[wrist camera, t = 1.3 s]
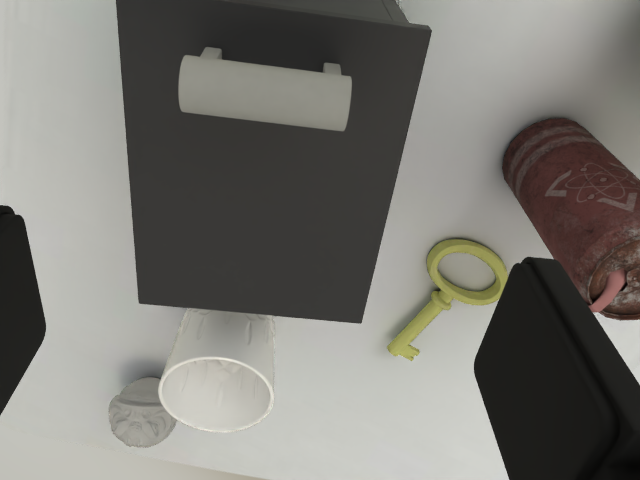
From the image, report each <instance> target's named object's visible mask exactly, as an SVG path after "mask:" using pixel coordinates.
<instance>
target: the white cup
mask: <svg viewBox="0 0 640 480" xmlns="http://www.w3.org/2000/svg"><path fill="white" fill-rule="evenodd" d="M273 319H274V316H272V315H261V314H250V313H239V312H228V311H217V310H205V309H194V308H188V309H187V311H186V312H185V314H184V318H183V320H182V322H181V324H180V327H179V331H178V333H177V335H176V337H175V340H174V343H173V346H172V349H171V352H170V355H169V358H168V361H167V363H166V366H165V369H164V372H163V374H162V377H161V380H160V383H159V387H158V395H159V399H160V402H161V404H162V405H163V407H164V408H165V410H166V411H167V412H168V413H169V414H170V415H171V416H172V417H174V418H175V419H176V420H178V421H180V422H181V423H183V424H185V425H187V426H190V427H193V428H196V429H199V430H203V431H209V432H233V431H239V430H243V429H246V428H249V427H251V426H253V425H255V424H257V423H259V422H260V421H262V420H263V419H264V418H265V417H266V416H267V415H268V413H269V412H270V410H271V408H272V406H273V402H274V369H275V335H274V333H275V326H274V320H273Z"/></svg>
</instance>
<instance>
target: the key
mask: <svg viewBox="0 0 640 480" xmlns="http://www.w3.org/2000/svg"><path fill="white" fill-rule="evenodd" d="M456 252H459V253H468V254H472V255H474V256H476V257H478V258H480V259H481V260H483V261H484V262H486V263H487V264H488V265H489V266H490V267H491V269H492V270H493V272H494V273H495V276H496V281H495V283H494V284H493V286H491V287H490V288H488V289H487V290H484V291H480V292H475V291H468V290H464V289H461V288H459V287H457V286H455V285H453V284H451V283H450V282H448V281H447V280H445V279H444V278H443V277H442V276H441V275H440V273H439V271H438V269H437V266H438V264H439V262H440V260H441V259H442V258H443V257H444V256H446V255H447V254H450V253H456ZM427 269H428V272H429V275H430V277H431V279H432V280H433V281H434V283H435V284H436V285H437V286H438V287H439V288H440V289H441V290H440V292H438V291H433V292H432V293H431V297H432V300H431V301H430V302H429V303H428V304H427V305H426V306H425V307H424V308H423V309H422V310H421V311H420V313H419V314H418V315H417V316H416V317H415V318H414V319H413V320H412V321H411V322H410V323H409V324H408V325H407V326H406V327H405V328H404V329H403V330H402V331H401V332H400V334H399V335H398V336H397V337H396V338H395V339H394V340H393V341H392V342H391V343H390V344H389V345H388V346H387V349H388V351H389V352H390V353H391V354H392V355H394V356H398V355H401V356H403V357H405V358H407V359H409V360H411V361H412V360H413V359H414V358H413V357H414V356H415V355H416V356H417V355H418V354H419V353H420V352H419V350H418V349H416V348H415V347H413V346H411V345H409V344H410V343H411V342H412V341H413V340H414V338H415V337H416V336H417V335H418V334H419V333H420V332H421V331H422V330H423V329H424V328H425V327H426V326H427V325H428V324H429V323H430V322H431V321H432V320H433V319H434V318H435V317H436V316H437V315H438V314H439V313H440V312H441V311H442V310H443V309H444V310H449V309H450V308H451V303H450V302H451V301H452V299H453V298H454V299H456V300H458V301H461V302H463V303H466V304H470V305H487V304H490V303H493V302H495V301H497V300H498V299H499V298H500V296H501V294H502V291H503V289H504V286H505V284H506V282H507V279H508V275H507V270H506V267H505V265H504V263H503V261H502V260H501V259H500V258H499V257H498V256H497V255H496V254H495V253H494V252H492V251H491V250H490V249H488V248H486V247H484V246H482V245H480V244H478V243H474V242H471V241H467V240H460V239H449V240H446V241H442V242H440V243H438V244H437V245H436V246H435V247H433V249H432V250H431V251H430V253H429V255H428V258H427Z"/></svg>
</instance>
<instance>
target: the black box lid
mask: <svg viewBox="0 0 640 480" xmlns="http://www.w3.org/2000/svg"><path fill="white" fill-rule="evenodd" d="M116 7H117V20H118V34H119V47H120V60H121V74H122V87H123V100H124V113H125V127H126V140H127V153H128V167H129V180H130V193H131V206H132V220H133V233H134V246H135V260H136V273H137V286H138V299H139V303H140V304H150V305H161V306H172V307H183V308H194V309H205V310H217V311H228V312H239V313H250V314H261V315H272V316H283V317H294V318H305V319H316V320H327V321H338V322H349V323H360V324H361V323H362V319H363V315H364V311H365V306H366V302H367V298H368V294H369V290H370V286H371V282H372V277H373V273H374V269H375V265H376V261H377V257H378V252H379V248H380V244H381V240H382V236H383V232H384V228H385V223H386V219H387V215H388V211H389V207H390V203H391V198H392V194H393V190H394V186H395V182H396V178H397V174H398V169H399V165H400V161H401V157H402V153H403V149H404V144H405V140H406V136H407V132H408V128H409V124H410V120H411V115H412V111H413V107H414V103H415V99H416V95H417V91H418V86H419V82H420V78H421V74H422V70H423V66H424V61H425V57H426V53H427V49H428V45H429V41H430V37H431V32H432V30H431V29H430V27H429V26H426V25H419V24H412V23H405V22H397V21H390V20H383V19H376V18H369V17H362V16H355V15H347V14H340V13H333V12H326V11H319V10H312V9H304V8H297V7H290V6H283V5H276V4H269V3H262V2H254V1H247V0H116Z"/></svg>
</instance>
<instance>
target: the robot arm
mask: <svg viewBox="0 0 640 480" xmlns="http://www.w3.org/2000/svg"><path fill="white" fill-rule="evenodd" d="M45 332H46V322H45V317H44V312H43V307H42V303H41V298H40V293H39V288H38V284H37V279H36V274H35V269H34V265H33V260H32V255H31V250H30V246H29V241H28V236H27V231H26V227H25V222H24V219H23V218H22V216H20V215H15V213H14V211H13V209H12V208H11V207H9V206H3V205H0V415H1V413H2V412H3V410H4V408H5V406H6V405H7V403H8V401H9V399H10V398H11V396H12V394H13V392H14V391H15V389H16V387H17V386H18V384H19V382H20V380H21V379H22V377H23V375H24V373H25V372H26V370H27V368H28V366H29V365H30V363H31V361H32V359H33V358H34V356H35V354H36V352H37V351H38V349H39V347H40V346H41V344H42V342H43V340H44V336H45ZM474 373H475V377H476V380H477V383H478V386H479V389H480V392H481V395H482V398H483V401H484V404H485V407H486V410H487V413H488V416H489V419H490V423H491V426H492V429H493V432H494V435H495V438H496V441H497V444H498V447H499V450H500V453H501V456H502V459H503V462H504V465H505V468H506V471H507V474H508V477H509V480H640V385H639V383H638V382H637V380H636V379H635V377H634V376H633V374H632V373H631V371H630V369H629V368H628V366H627V365H626V363H625V362H624V360H623V359H622V357H621V356H620V354H619V353H618V351H617V349H616V348H615V346H614V345H613V343H612V342H611V340H610V339H609V337H608V336H607V334H606V333H605V331H604V329H603V328H602V326H601V325H600V323H599V322H598V320H597V319H596V317H595V316H594V314H593V313H592V311H591V309H590V308H589V306H588V305H587V303H586V302H585V300H584V299H583V297H582V296H581V294H580V293H579V291H578V290H577V288H576V286H575V285H574V283H573V282H572V280H571V279H570V277H569V276H568V274H567V273H566V271H565V270H564V268H563V266H562V265H561V263H560V262H559V261H558V260H555V259H545V258H535V257H527V258H525V259H524V260H523V261H522V262H521V263H517V264H515V265H514V266H513V268H512V269H511V272H510V274H509V277H508V279H507V282H506V284H505V286H504V289H503V291H502V294H501V296H500V299H499V301H498V304H497V306H496V309H495V311H494V313H493V316H492V318H491V321H490V323H489V326H488V328H487V331H486V333H485V335H484V338H483V340H482V343H481V345H480V348H479V350H478V353H477V355H476V358H475V362H474Z"/></svg>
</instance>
